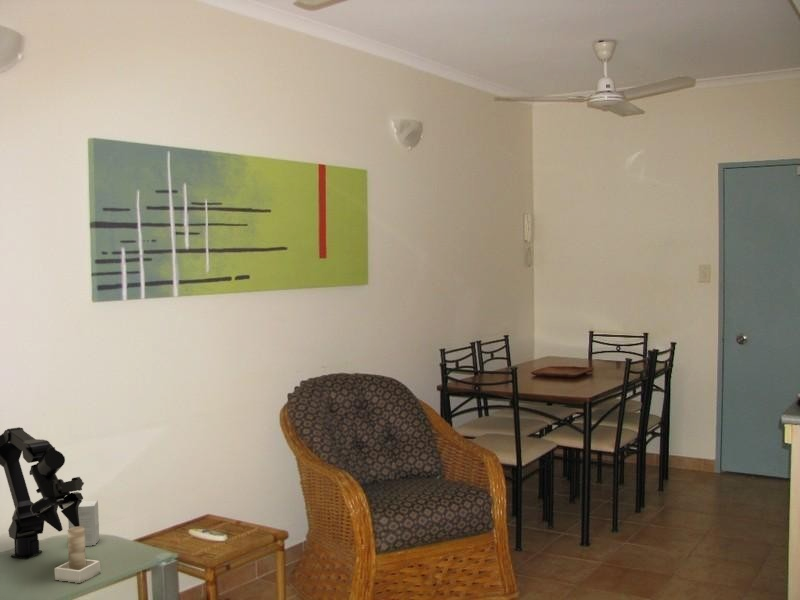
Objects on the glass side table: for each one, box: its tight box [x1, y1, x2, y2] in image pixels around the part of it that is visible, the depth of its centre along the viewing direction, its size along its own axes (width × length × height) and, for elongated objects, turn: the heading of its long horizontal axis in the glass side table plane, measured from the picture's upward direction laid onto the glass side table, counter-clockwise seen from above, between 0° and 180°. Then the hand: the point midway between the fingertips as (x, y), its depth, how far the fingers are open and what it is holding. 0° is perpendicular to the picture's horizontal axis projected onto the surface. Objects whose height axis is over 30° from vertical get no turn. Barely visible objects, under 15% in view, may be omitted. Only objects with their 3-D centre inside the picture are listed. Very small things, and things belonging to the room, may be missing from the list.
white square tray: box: [54, 558, 101, 584], centre depth 233 cm, size 9×9×4 cm
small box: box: [67, 500, 100, 547], centre depth 261 cm, size 8×6×13 cm
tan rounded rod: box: [67, 527, 86, 570], centre depth 233 cm, size 4×4×13 cm
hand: (69, 528), depth 236 cm, fingers open, 9 cm apart
